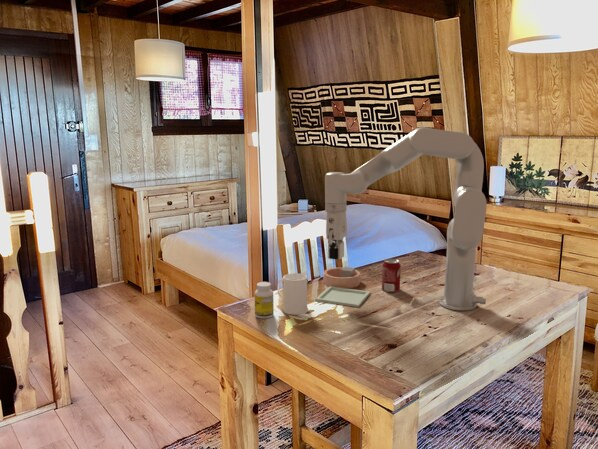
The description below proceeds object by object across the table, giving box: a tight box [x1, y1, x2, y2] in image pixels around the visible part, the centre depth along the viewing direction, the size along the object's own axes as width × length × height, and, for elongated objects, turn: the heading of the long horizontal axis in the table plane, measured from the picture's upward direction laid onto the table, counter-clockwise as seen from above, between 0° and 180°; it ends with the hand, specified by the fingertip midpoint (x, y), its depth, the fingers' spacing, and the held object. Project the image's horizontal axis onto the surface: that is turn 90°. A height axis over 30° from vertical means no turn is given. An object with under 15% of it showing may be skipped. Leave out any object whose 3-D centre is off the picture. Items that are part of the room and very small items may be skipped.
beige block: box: [327, 240, 345, 260], centre depth 179 cm, size 4×4×6 cm
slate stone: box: [340, 266, 356, 277], centre depth 196 cm, size 4×4×6 cm
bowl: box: [322, 267, 361, 289], centre depth 197 cm, size 14×14×4 cm
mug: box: [276, 272, 308, 316], centre depth 169 cm, size 12×8×12 cm
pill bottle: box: [254, 281, 275, 319], centre depth 164 cm, size 6×6×11 cm
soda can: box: [381, 258, 402, 293], centre depth 188 cm, size 7×7×12 cm
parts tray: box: [315, 286, 371, 308], centre depth 181 cm, size 16×15×1 cm
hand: (336, 256), depth 179 cm, fingers closed on beige block, 4 cm apart
